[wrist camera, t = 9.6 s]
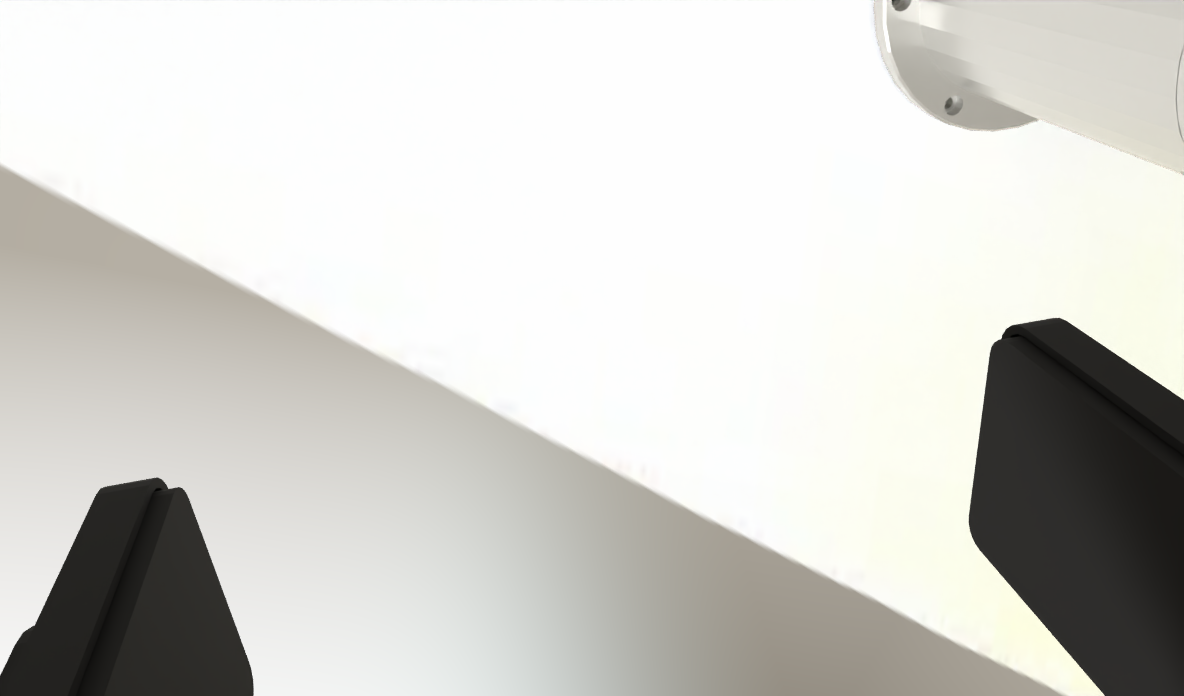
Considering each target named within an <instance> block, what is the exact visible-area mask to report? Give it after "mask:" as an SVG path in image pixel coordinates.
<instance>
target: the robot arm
mask: <svg viewBox="0 0 1184 696" xmlns="http://www.w3.org/2000/svg"><path fill="white" fill-rule="evenodd" d="M873 8H874V19H875V31H876V38H877V41H878V45H879V48H880V52H881V55H882V59H883V62H884V64H885V66H886V68H887V70H888V72H889V74H890V75H891V77H892V79H893V81H894V83H895V85H896V86H897V87H898V88H899V89H900V90H901V92H902V93H903V94H904V95H905V96H906V97H907V99H908V100H909V101H910V102H911V103H913V104H914V105H915V106H917V107H918V108H920V109H921V110H922V111H924V112H925V113H926V114H928V115H929V116H932V117H934V118H936V119H938V120H940V121H942V122H944V123H946V124H949V125H953V126H956V127H960V128H964V129H967V130H974V131H999V130H1005V129H1012V128H1018V127H1021V126H1024V125H1026V124H1029V123H1032V122H1035V121H1037V120H1042V121H1045V122H1047V123H1050V124H1053V125H1055V126H1058V127H1060V128H1063V129H1066V130H1068V131H1071V132H1073V133H1076V134H1078V135H1081V136H1084V137H1086V138H1089V139H1091V140H1094V141H1097V142H1099V143H1102V144H1104V145H1107V146H1109V147H1112V148H1115V149H1117V150H1120V151H1122V152H1125V153H1128V154H1130V155H1133V156H1135V157H1138V158H1140V159H1143V160H1146V161H1148V162H1151V163H1153V164H1156V165H1159V166H1161V167H1164V168H1166V169H1169V170H1172V171H1174V172H1177V173H1179V174H1182V175H1184V0H895V1H894V2H893V3H892V0H874V7H873ZM946 101H947V103H946ZM945 103H946V104H945ZM969 527H970V532H971V535H972V538H973V540H974V542H975V544H976V545H977V547H978V548H979V550H980V551H981V552H982V553H983V554H984V555H985V557H986V558H987V559H988V560H989V561H990V562H991V564H992V565H993V566H994V567H995V568H996V569H997V571H998V572H999V573H1000V574H1001V575H1002V576H1003V578H1004V579H1005V580H1006V581H1007V582H1008V583H1009V585H1010V586H1011V587H1012V588H1013V589H1014V590H1015V592H1016V593H1017V594H1018V595H1019V596H1020V597H1021V599H1022V600H1023V601H1024V602H1025V603H1026V604H1027V605H1028V607H1029V608H1030V609H1031V610H1032V611H1033V612H1034V614H1035V615H1036V616H1037V617H1038V618H1039V619H1040V621H1041V622H1042V623H1043V624H1044V625H1045V626H1046V628H1047V629H1048V630H1049V631H1050V632H1051V633H1052V635H1053V636H1054V637H1055V638H1056V639H1057V640H1058V642H1059V643H1060V644H1061V645H1062V646H1063V647H1064V649H1065V650H1066V651H1067V652H1068V653H1069V654H1070V655H1071V657H1072V658H1073V659H1074V660H1075V661H1076V662H1077V664H1078V665H1079V666H1080V667H1081V668H1082V669H1083V671H1084V672H1085V673H1086V674H1087V675H1088V676H1089V678H1090V679H1091V680H1092V681H1093V682H1094V683H1095V685H1096V686H1097V687H1098V688H1099V689H1100V690H1101V692H1102V693H1103V694H1104V695H1105V696H1184V400H1183V399H1181V398H1180V397H1178V396H1177V395H1175V394H1174V393H1172V392H1171V391H1170V390H1168V389H1167V388H1165V387H1164V386H1162V385H1161V384H1159V383H1158V382H1156V381H1155V380H1153V379H1152V378H1150V377H1149V376H1147V375H1146V374H1144V373H1143V372H1141V371H1140V370H1138V369H1137V368H1135V367H1134V366H1132V365H1131V364H1129V363H1128V362H1127V361H1125V360H1124V359H1122V358H1121V357H1119V356H1118V355H1116V354H1115V353H1113V352H1112V351H1110V350H1109V349H1107V348H1106V347H1104V346H1103V345H1101V344H1100V343H1098V342H1097V341H1095V340H1094V339H1092V338H1091V337H1089V336H1088V335H1086V334H1085V333H1084V332H1082V331H1081V330H1079V329H1078V328H1076V327H1075V326H1073V325H1072V324H1070V323H1069V322H1067V321H1065V320H1063V319H1061V318H1051V319H1046V320H1040V321H1034V322H1029V323H1023V324H1017V325H1012V326H1010V327H1009V328H1007V329H1006V330H1005V332H1004V334H1003V335H1002V339H1001V340H998V341H996V342H995V343H994V344H993V346H992V348H991V352H990V357H989V365H988V373H987V380H986V388H985V396H984V404H983V411H982V419H981V427H980V434H979V442H978V450H977V458H976V465H975V473H974V481H973V488H972V496H971V504H970V512H969ZM0 696H253V677H252V672H251V667H250V664H249V661H248V658H247V655H246V653H245V650H244V647H243V645H242V642H241V639H240V636H239V634H238V631H237V628H236V626H235V623H234V620H233V617H232V615H231V612H230V609H229V607H228V604H227V601H226V598H225V596H224V593H223V590H222V588H221V585H220V582H219V579H218V577H217V574H216V571H215V569H214V566H213V563H212V560H211V558H210V555H209V552H208V550H207V547H206V544H205V541H204V539H203V536H202V533H201V531H200V528H199V525H198V522H197V520H196V517H195V514H194V512H193V509H192V506H191V504H190V501H189V498H188V496H187V494H186V492H185V491H184V490H183V489H182V488H180V487H178V488H173V489H168V487H167V485H166V484H165V483H164V482H163V480H162V479H159V478H152V479H146V480H141V481H135V482H130V483H124V484H119V485H112V486H107V487H103V488H101V489H100V490H99V491H98V493H97V494H96V496H95V498H94V500H93V503H92V505H91V507H90V509H89V511H88V513H87V516H86V518H85V520H84V522H83V524H82V526H81V528H80V530H79V532H78V534H77V537H76V539H75V541H74V543H73V545H72V547H71V549H70V551H69V554H68V556H67V558H66V560H65V562H64V564H63V567H62V569H61V571H60V573H59V575H58V577H57V579H56V581H55V584H54V586H53V588H52V590H51V592H50V594H49V596H48V598H47V601H46V603H45V605H44V607H43V609H42V611H41V614H40V616H39V618H38V620H37V622H36V624H35V626H32V627H31V628H29V629H28V630H26V631H25V632H24V633H23V634H22V635H21V637H20V638H19V640H18V641H17V643H16V644H15V646H14V648H13V650H12V653H11V655H10V657H9V659H8V661H7V663H6V665H5V667H4V669H3V671H2V673H1V675H0Z"/></svg>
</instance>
